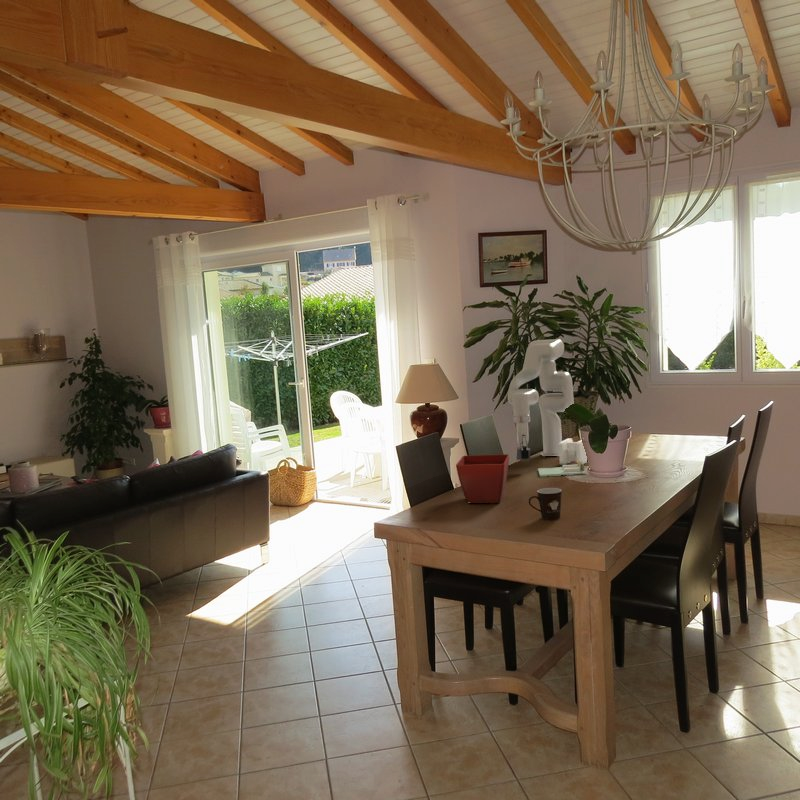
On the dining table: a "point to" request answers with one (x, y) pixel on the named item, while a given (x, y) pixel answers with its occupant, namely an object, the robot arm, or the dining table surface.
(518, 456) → the plug
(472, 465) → the plant pot
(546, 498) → the coffee mug
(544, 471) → the board
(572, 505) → the dining table surface
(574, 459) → the cable organizer
